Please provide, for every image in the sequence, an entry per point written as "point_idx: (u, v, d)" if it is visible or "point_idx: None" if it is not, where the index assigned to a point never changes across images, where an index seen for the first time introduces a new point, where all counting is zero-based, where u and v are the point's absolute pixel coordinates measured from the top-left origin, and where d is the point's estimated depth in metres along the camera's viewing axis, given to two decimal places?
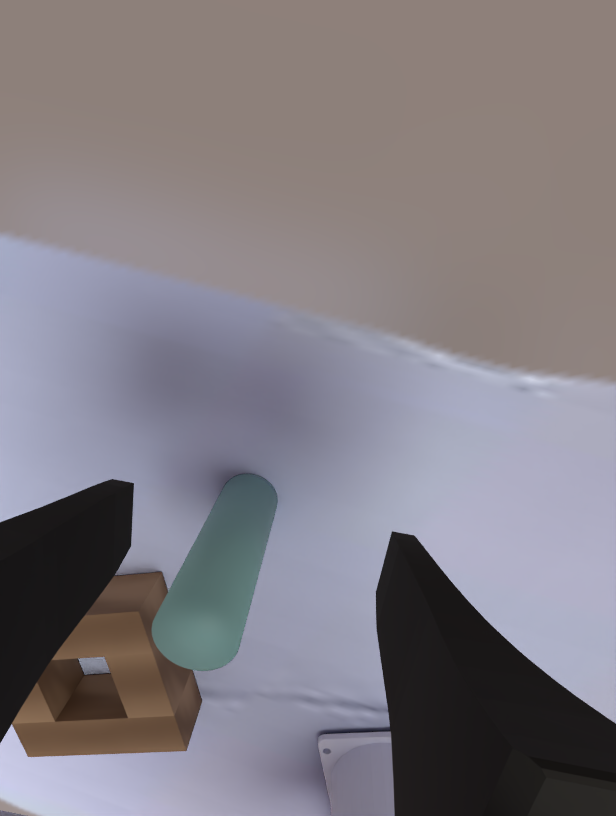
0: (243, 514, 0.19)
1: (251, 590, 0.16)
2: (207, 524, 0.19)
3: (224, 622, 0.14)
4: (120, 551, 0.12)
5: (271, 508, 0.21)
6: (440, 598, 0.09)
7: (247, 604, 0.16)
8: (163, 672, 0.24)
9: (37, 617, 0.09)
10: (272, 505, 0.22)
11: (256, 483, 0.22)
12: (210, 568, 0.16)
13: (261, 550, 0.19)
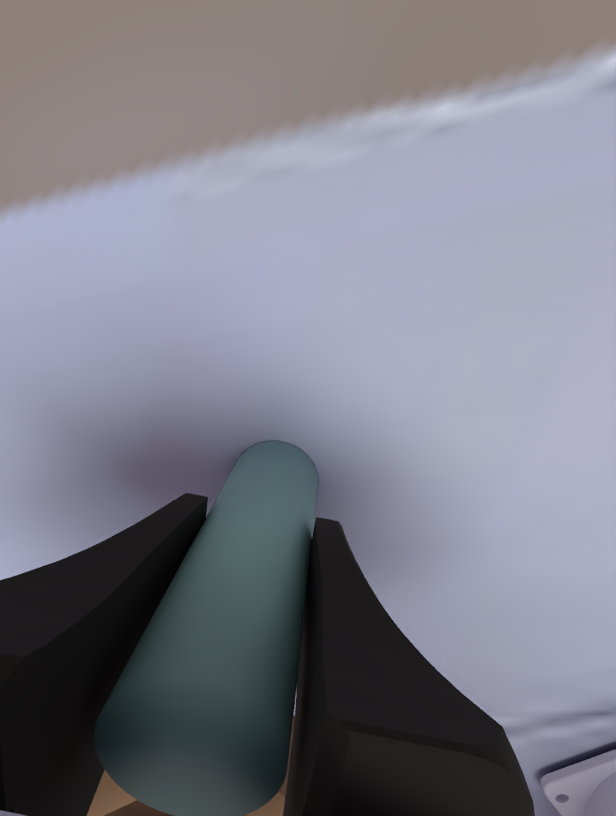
0: (248, 495, 0.11)
1: (287, 613, 0.08)
2: (198, 533, 0.11)
3: (226, 705, 0.06)
4: None
5: (302, 474, 0.13)
6: (338, 579, 0.09)
7: (281, 644, 0.08)
8: None
9: (138, 636, 0.09)
10: (303, 470, 0.14)
11: (267, 450, 0.14)
12: (184, 602, 0.08)
13: (296, 537, 0.10)
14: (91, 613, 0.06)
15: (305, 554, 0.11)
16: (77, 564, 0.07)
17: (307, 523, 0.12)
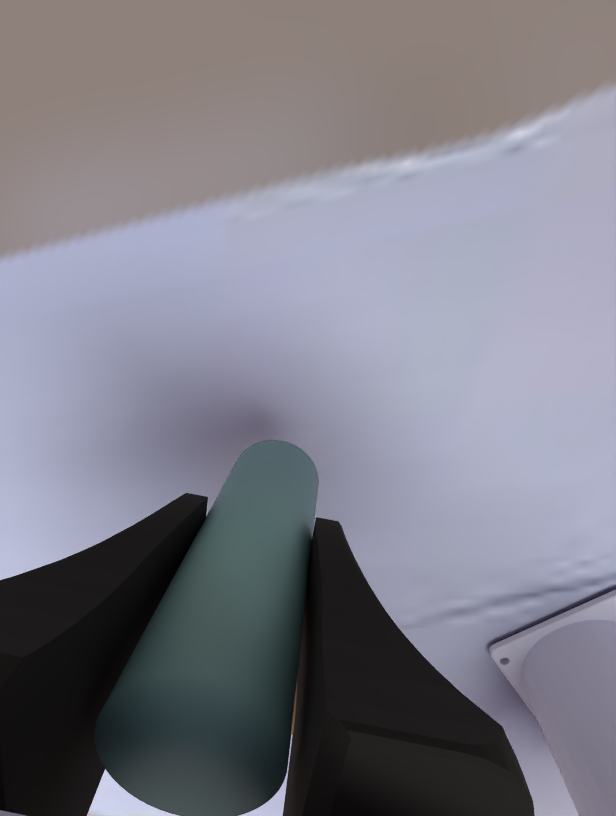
0: (248, 494, 0.11)
1: (287, 612, 0.08)
2: (198, 532, 0.11)
3: (226, 702, 0.06)
4: None
5: (302, 474, 0.13)
6: (337, 579, 0.09)
7: (281, 642, 0.08)
8: None
9: (138, 636, 0.09)
10: (303, 470, 0.14)
11: (267, 449, 0.14)
12: (184, 601, 0.08)
13: (296, 536, 0.10)
14: (91, 613, 0.06)
15: (305, 553, 0.11)
16: (77, 564, 0.07)
17: (307, 522, 0.12)
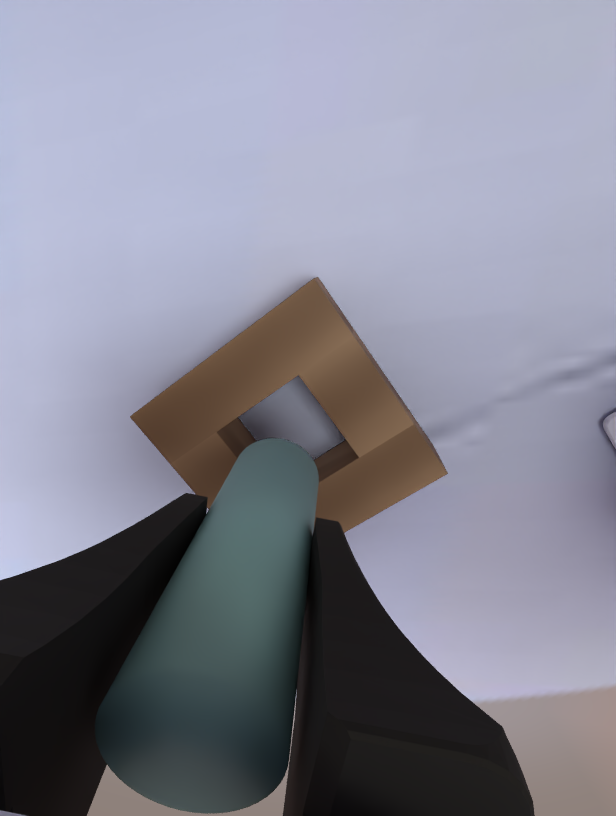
0: (249, 490, 0.11)
1: (289, 607, 0.08)
2: None
3: (229, 695, 0.06)
4: None
5: (303, 472, 0.13)
6: (337, 579, 0.09)
7: (284, 637, 0.08)
8: (376, 368, 0.18)
9: (138, 636, 0.09)
10: (304, 468, 0.14)
11: (269, 447, 0.14)
12: (186, 594, 0.08)
13: (297, 533, 0.10)
14: (91, 613, 0.06)
15: (306, 551, 0.11)
16: (77, 564, 0.07)
17: (308, 520, 0.12)
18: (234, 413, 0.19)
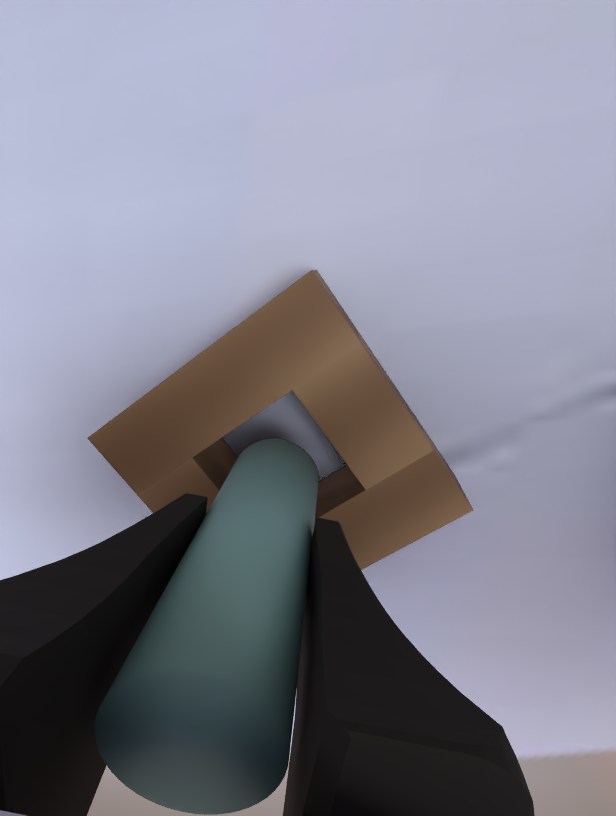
0: (249, 491, 0.11)
1: (289, 608, 0.08)
2: None
3: (229, 696, 0.06)
4: None
5: (303, 473, 0.13)
6: (337, 578, 0.09)
7: (283, 638, 0.08)
8: (387, 382, 0.15)
9: None
10: (304, 469, 0.14)
11: (269, 447, 0.14)
12: (186, 595, 0.08)
13: (297, 534, 0.10)
14: (91, 613, 0.06)
15: (306, 551, 0.11)
16: (77, 564, 0.07)
17: (308, 521, 0.12)
18: (213, 435, 0.15)
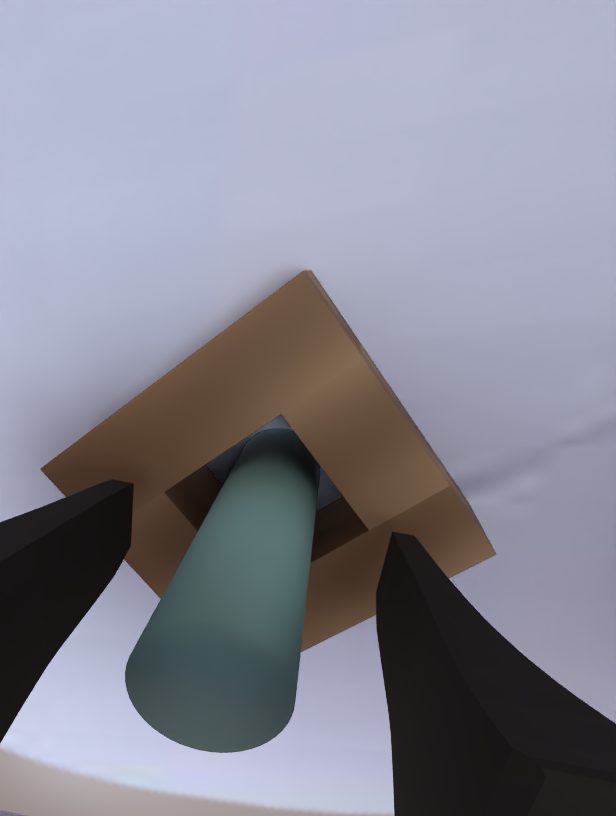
0: (257, 475, 0.12)
1: (294, 576, 0.09)
2: None
3: (243, 645, 0.07)
4: (120, 551, 0.12)
5: (306, 460, 0.14)
6: (440, 598, 0.09)
7: (290, 600, 0.09)
8: (395, 404, 0.12)
9: (37, 617, 0.09)
10: (307, 456, 0.15)
11: (274, 436, 0.15)
12: (203, 562, 0.09)
13: (301, 513, 0.11)
14: None
15: (309, 529, 0.11)
16: None
17: (311, 503, 0.13)
18: (189, 466, 0.13)
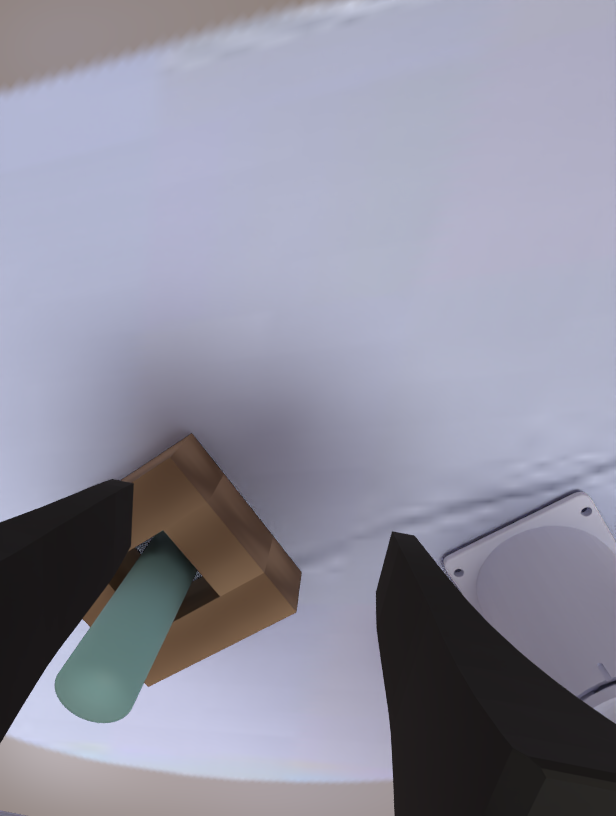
0: (147, 566, 0.21)
1: (149, 634, 0.18)
2: None
3: (107, 672, 0.16)
4: (120, 551, 0.12)
5: None
6: (440, 598, 0.09)
7: (141, 648, 0.17)
8: (230, 525, 0.21)
9: (37, 617, 0.09)
10: None
11: None
12: (98, 628, 0.17)
13: (168, 592, 0.20)
14: None
15: (173, 601, 0.20)
16: None
17: (181, 581, 0.21)
18: None
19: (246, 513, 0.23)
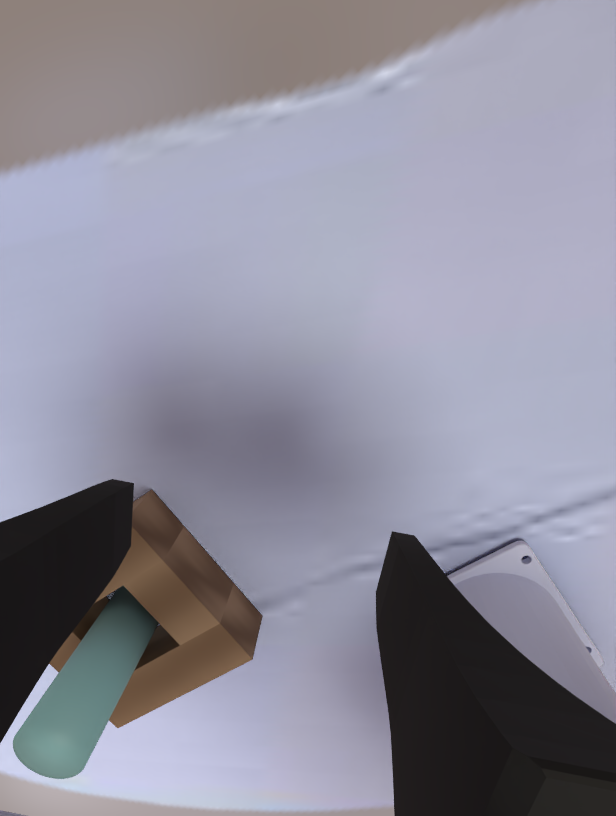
0: (109, 620, 0.22)
1: (104, 691, 0.19)
2: None
3: (60, 734, 0.17)
4: (120, 551, 0.12)
5: None
6: (440, 598, 0.09)
7: (95, 707, 0.18)
8: (186, 580, 0.22)
9: (37, 617, 0.09)
10: None
11: None
12: (56, 688, 0.18)
13: (127, 646, 0.21)
14: None
15: (132, 654, 0.21)
16: None
17: (142, 633, 0.22)
18: None
19: (205, 563, 0.24)
